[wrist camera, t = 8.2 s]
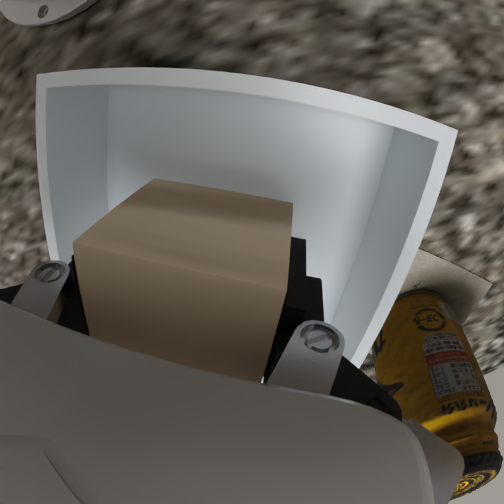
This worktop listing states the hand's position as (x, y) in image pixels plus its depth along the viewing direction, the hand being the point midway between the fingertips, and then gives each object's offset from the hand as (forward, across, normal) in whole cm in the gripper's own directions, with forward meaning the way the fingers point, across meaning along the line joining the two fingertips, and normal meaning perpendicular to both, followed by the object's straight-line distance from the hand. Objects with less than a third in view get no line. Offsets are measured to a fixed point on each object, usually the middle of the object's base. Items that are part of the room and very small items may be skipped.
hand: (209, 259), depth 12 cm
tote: (+6, 0, +4) cm, 7 cm away
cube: (+1, 0, 0) cm, 1 cm away
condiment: (+6, -13, +5) cm, 15 cm away
